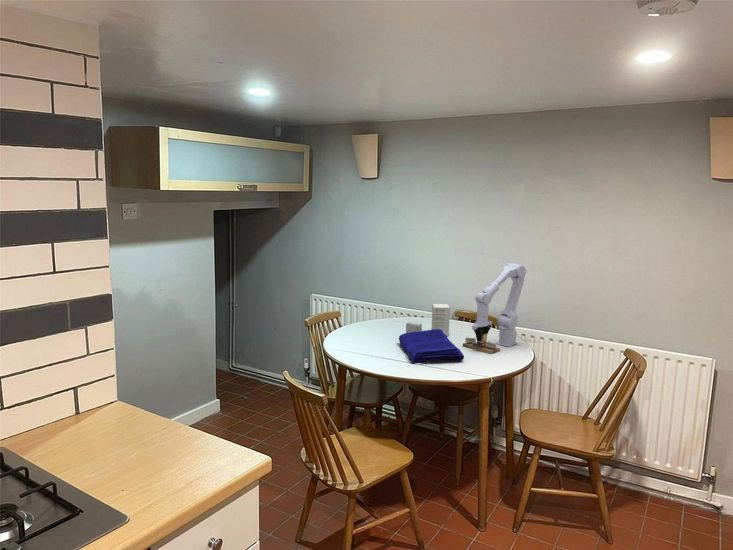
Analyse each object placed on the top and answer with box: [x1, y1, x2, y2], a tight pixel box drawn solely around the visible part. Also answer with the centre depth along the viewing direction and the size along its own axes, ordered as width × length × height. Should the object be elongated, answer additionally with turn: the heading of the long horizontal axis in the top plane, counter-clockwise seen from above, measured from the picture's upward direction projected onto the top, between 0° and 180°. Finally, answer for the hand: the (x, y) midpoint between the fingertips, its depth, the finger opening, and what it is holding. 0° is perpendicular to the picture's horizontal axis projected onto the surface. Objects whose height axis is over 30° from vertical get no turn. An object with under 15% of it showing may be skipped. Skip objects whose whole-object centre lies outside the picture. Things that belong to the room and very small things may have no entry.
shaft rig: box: [462, 336, 501, 355], centre depth 283 cm, size 8×18×4 cm, turn 43°
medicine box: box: [405, 321, 423, 333], centre depth 300 cm, size 8×4×9 cm, turn 59°
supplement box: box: [431, 303, 451, 337], centre depth 309 cm, size 10×9×17 cm
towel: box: [398, 329, 465, 364], centre depth 276 cm, size 26×36×9 cm
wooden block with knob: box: [476, 333, 488, 346], centre depth 283 cm, size 4×4×6 cm
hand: (481, 340), depth 283 cm, fingers closed on wooden block with knob, 4 cm apart
